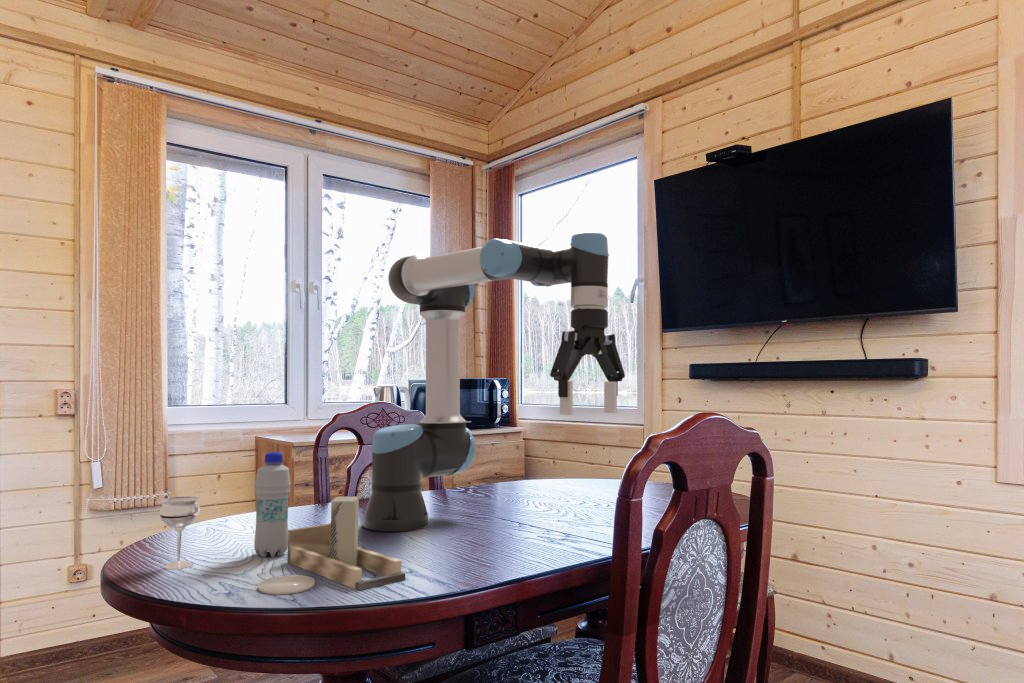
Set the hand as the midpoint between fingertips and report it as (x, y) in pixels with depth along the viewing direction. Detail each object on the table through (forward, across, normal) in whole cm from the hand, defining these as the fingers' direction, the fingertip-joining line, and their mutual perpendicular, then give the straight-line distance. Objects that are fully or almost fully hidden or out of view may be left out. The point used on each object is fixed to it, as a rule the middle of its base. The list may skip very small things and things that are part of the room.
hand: (588, 413), depth 141 cm
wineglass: (+28, -64, +44) cm, 82 cm away
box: (+28, -43, +20) cm, 55 cm away
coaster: (+28, -55, +18) cm, 64 cm away
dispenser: (+28, -43, +21) cm, 55 cm away
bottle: (+28, -48, +40) cm, 69 cm away
